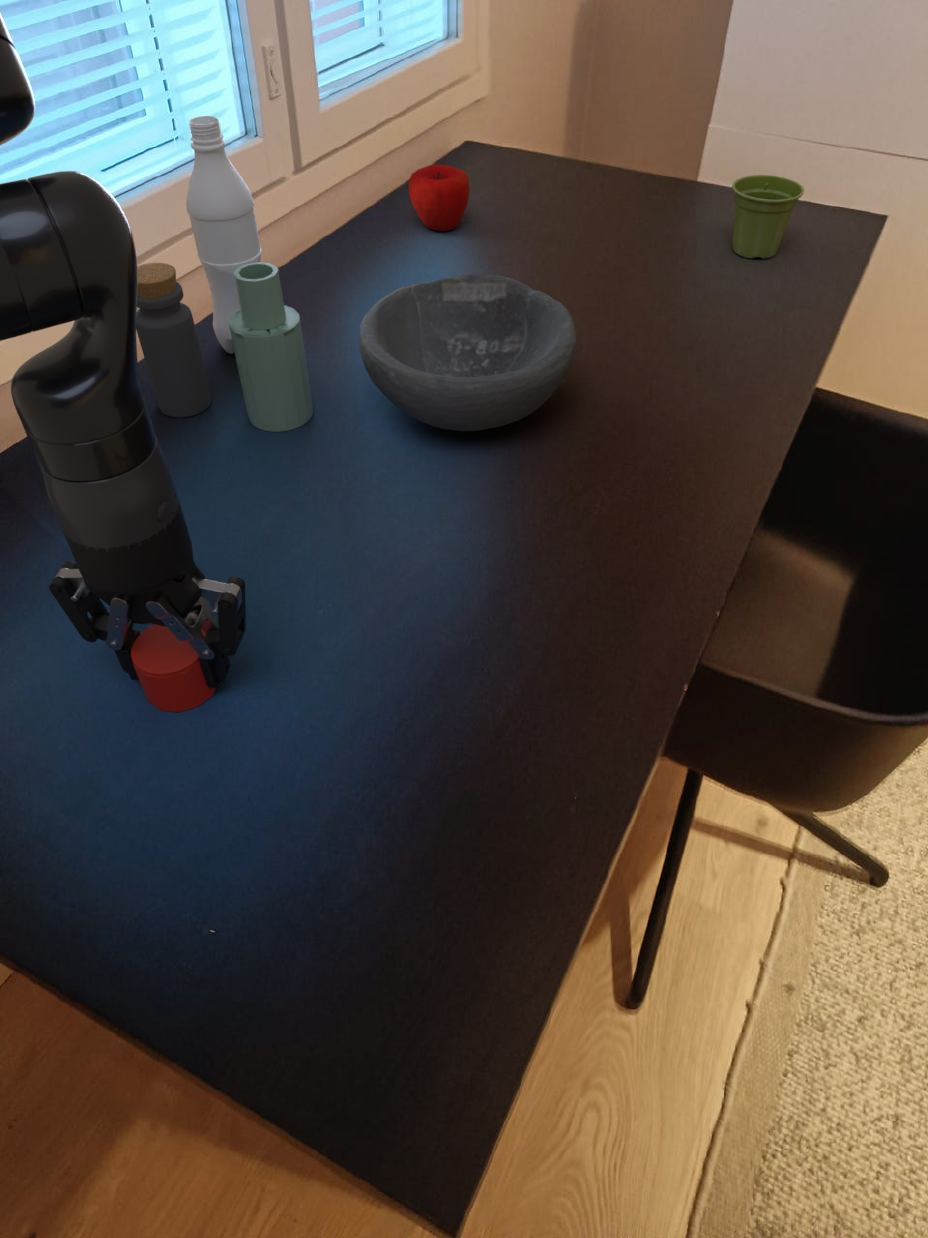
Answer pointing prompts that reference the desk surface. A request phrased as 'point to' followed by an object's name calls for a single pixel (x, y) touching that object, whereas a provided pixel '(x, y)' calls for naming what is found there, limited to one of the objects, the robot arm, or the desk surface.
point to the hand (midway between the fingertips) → (179, 675)
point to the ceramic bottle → (269, 351)
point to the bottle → (170, 343)
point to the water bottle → (220, 221)
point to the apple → (439, 195)
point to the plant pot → (762, 213)
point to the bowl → (467, 350)
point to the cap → (169, 670)
